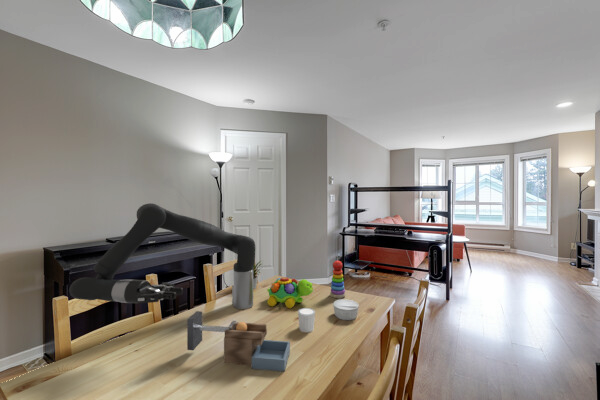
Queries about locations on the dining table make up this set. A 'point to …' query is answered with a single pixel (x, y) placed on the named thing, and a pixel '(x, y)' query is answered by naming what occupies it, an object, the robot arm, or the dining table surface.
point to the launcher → (243, 343)
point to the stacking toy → (337, 281)
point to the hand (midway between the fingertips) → (178, 293)
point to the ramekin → (346, 309)
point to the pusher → (201, 329)
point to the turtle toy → (288, 291)
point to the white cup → (306, 319)
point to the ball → (241, 326)
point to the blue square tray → (271, 355)
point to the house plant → (255, 274)
